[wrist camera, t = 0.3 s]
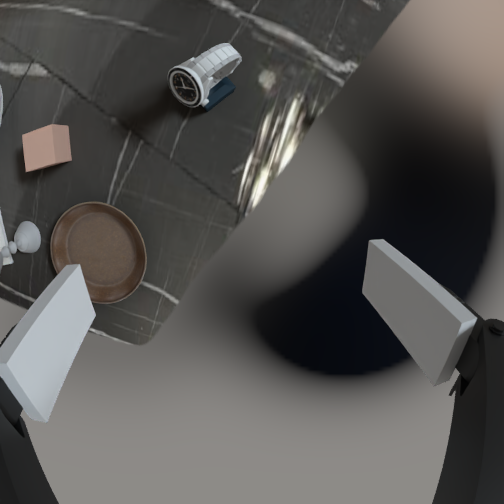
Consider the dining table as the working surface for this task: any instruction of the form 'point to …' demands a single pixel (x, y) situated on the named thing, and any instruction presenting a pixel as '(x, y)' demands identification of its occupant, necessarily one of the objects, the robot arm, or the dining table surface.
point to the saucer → (100, 250)
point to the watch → (205, 77)
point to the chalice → (22, 241)
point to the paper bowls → (1, 104)
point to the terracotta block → (46, 147)
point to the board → (4, 242)
